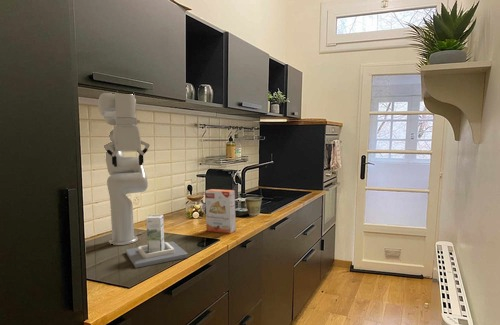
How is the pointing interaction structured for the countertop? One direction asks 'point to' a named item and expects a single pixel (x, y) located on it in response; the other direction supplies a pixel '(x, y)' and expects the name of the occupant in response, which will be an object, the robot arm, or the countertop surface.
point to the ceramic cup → (253, 205)
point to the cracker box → (220, 210)
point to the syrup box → (155, 233)
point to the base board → (155, 255)
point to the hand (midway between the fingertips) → (128, 165)
